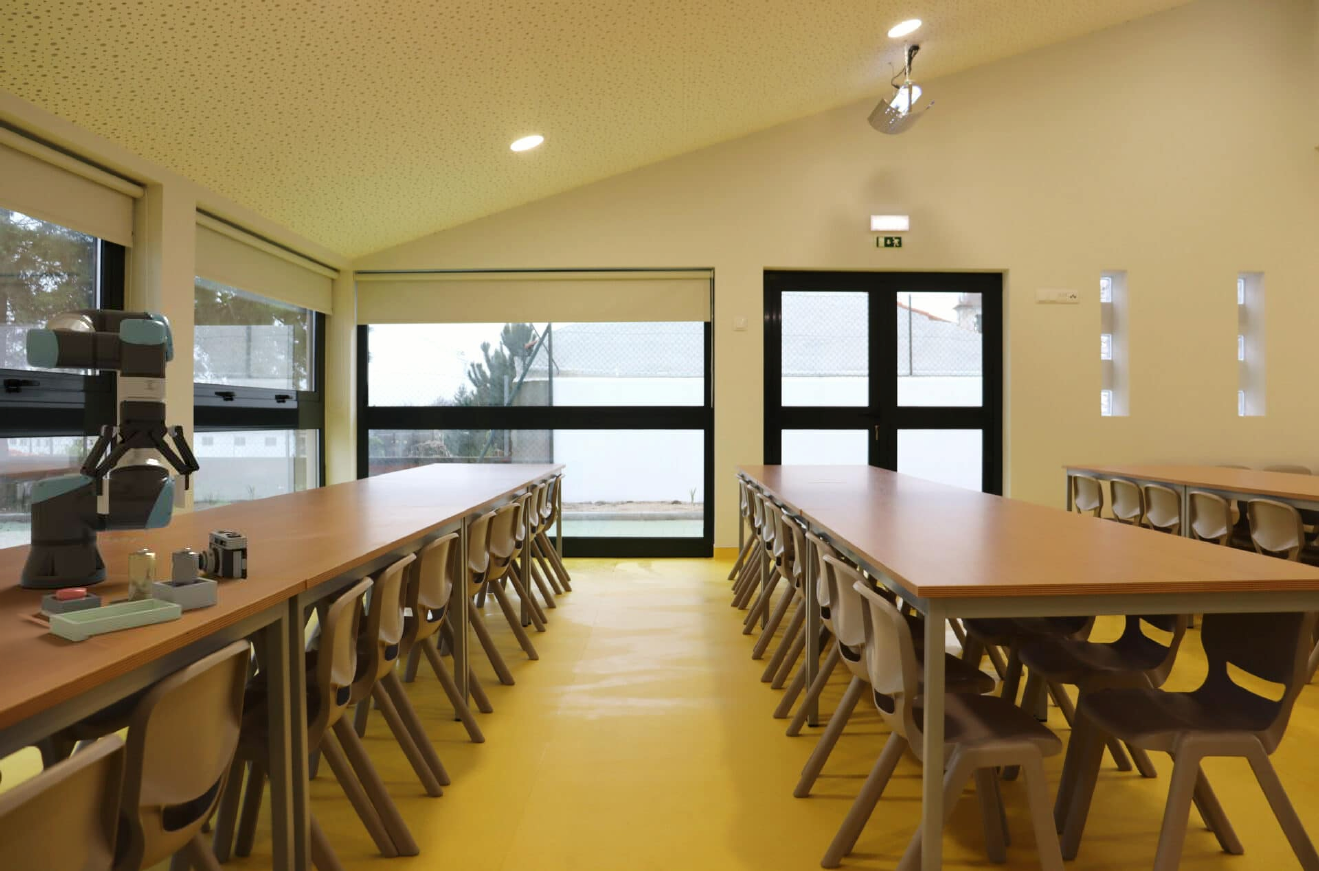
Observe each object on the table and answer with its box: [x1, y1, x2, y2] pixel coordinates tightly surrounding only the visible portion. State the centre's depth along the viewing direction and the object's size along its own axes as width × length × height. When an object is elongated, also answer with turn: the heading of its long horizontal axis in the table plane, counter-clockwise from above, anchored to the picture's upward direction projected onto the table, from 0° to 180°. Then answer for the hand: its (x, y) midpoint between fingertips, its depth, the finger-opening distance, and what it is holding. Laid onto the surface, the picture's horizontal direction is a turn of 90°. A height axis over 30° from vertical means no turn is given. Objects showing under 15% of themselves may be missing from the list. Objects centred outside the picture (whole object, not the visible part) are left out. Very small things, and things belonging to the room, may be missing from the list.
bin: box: [152, 576, 218, 612], centre depth 154 cm, size 8×8×5 cm
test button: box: [55, 587, 87, 601], centre depth 147 cm, size 4×4×2 cm
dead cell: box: [171, 547, 200, 587], centre depth 154 cm, size 4×4×11 cm
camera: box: [199, 529, 248, 580], centre depth 185 cm, size 14×8×10 cm, turn 45°
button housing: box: [40, 592, 102, 618], centre depth 147 cm, size 9×7×4 cm
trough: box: [49, 598, 182, 642], centre depth 141 cm, size 10×17×3 cm, turn 147°
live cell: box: [128, 548, 157, 603], centre depth 156 cm, size 4×4×11 cm
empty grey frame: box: [109, 597, 129, 604], centre depth 156 cm, size 8×10×1 cm
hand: (142, 510), depth 156 cm, fingers open, 13 cm apart
